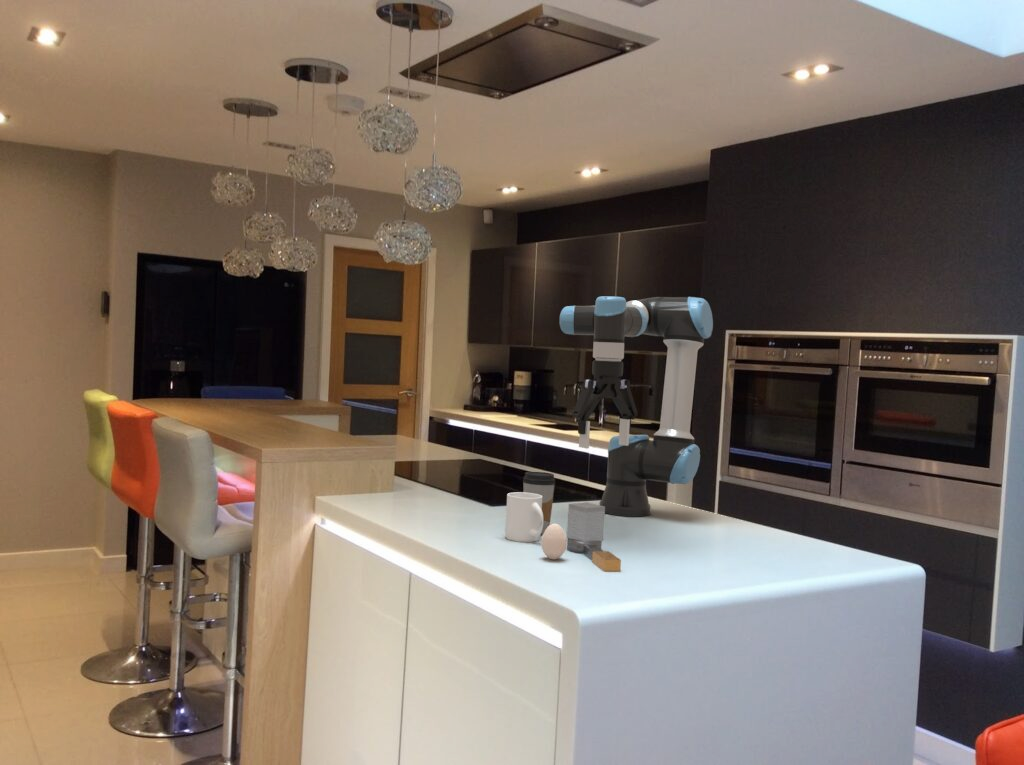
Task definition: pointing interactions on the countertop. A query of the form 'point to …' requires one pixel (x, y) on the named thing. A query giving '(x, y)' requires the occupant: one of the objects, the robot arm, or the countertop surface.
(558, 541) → the egg
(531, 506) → the mug
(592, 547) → the ratchet
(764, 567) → the countertop surface
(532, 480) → the coffee cup
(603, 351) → the robot arm
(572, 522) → the grey rectangular block
